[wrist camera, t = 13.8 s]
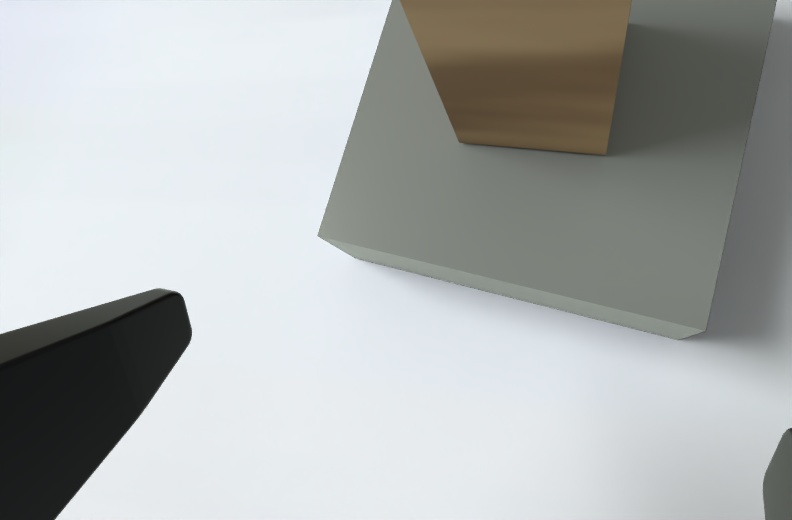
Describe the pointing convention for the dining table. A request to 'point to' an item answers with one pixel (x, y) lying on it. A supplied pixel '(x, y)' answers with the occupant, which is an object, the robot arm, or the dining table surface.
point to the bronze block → (525, 68)
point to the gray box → (566, 176)
